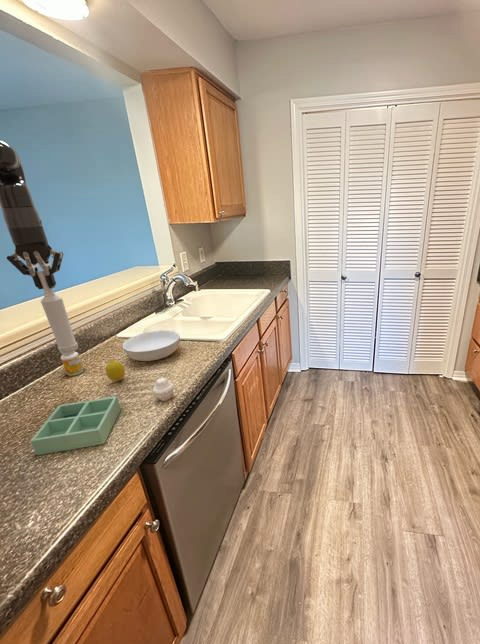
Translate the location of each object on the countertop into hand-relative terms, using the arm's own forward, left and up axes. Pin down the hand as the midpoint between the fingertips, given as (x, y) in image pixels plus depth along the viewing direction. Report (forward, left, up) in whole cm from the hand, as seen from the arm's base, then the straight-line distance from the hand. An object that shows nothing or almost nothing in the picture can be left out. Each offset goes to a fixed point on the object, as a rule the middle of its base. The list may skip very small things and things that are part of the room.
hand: (47, 287), depth 94 cm
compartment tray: (+8, -23, -35) cm, 43 cm away
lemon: (+10, +3, -35) cm, 36 cm away
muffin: (+28, -13, -35) cm, 47 cm away
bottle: (0, 0, -20) cm, 20 cm away
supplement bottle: (-8, +15, -35) cm, 39 cm away
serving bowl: (+19, +21, -35) cm, 45 cm away
